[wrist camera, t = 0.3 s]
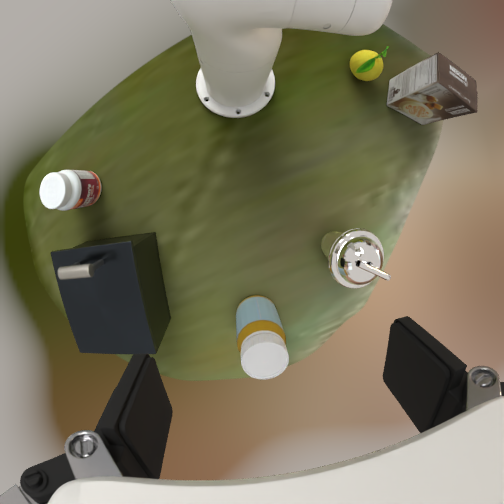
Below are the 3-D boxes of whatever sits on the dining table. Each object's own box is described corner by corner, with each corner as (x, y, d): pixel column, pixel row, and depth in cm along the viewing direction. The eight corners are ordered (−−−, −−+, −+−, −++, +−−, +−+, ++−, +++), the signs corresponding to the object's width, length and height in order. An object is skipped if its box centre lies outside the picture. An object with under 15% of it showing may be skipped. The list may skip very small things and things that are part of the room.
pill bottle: (95, 211, 42) (60, 220, 31) (69, 197, 41) (32, 203, 30) (107, 178, 41) (74, 178, 30) (81, 165, 40) (45, 163, 29)
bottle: (238, 331, 49) (241, 384, 35) (233, 296, 47) (234, 343, 33) (277, 326, 49) (293, 377, 35) (274, 291, 48) (290, 335, 33)
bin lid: (53, 250, 33) (31, 260, 27) (132, 240, 33) (116, 249, 28) (82, 350, 37) (67, 369, 31) (157, 351, 37) (148, 373, 32)
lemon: (370, 60, 39) (396, 40, 29) (376, 87, 40) (404, 70, 31) (337, 56, 39) (359, 33, 29) (344, 84, 40) (368, 64, 30)
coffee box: (425, 99, 41) (478, 81, 25) (422, 125, 42) (478, 114, 27) (388, 78, 40) (438, 50, 24) (384, 106, 41) (438, 83, 26)
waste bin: (86, 241, 43) (54, 256, 33) (155, 232, 44) (133, 246, 34) (105, 321, 47) (82, 350, 37) (171, 318, 48) (157, 350, 37)
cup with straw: (327, 277, 48) (380, 332, 28) (297, 238, 46) (343, 275, 26) (363, 247, 47) (432, 284, 28) (336, 206, 45) (403, 223, 26)
